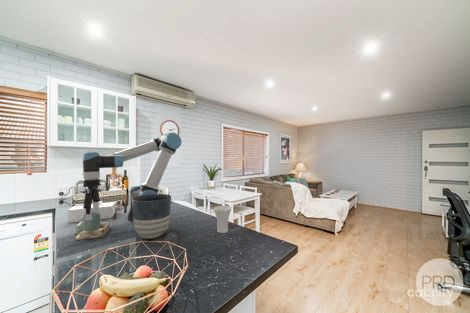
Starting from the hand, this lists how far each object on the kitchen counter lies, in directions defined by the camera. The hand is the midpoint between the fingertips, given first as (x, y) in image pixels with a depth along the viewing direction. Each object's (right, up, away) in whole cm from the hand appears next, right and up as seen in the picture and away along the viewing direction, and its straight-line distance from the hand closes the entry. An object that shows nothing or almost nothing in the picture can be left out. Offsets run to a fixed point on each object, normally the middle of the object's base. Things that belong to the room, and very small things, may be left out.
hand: (92, 216), depth 109 cm
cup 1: (-1, -9, 0) cm, 9 cm away
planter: (+36, -10, -5) cm, 38 cm away
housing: (+1, -10, 0) cm, 10 cm away
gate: (-10, -10, +4) cm, 14 cm away
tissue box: (-22, -11, +30) cm, 39 cm away
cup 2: (+74, -10, +3) cm, 75 cm away
